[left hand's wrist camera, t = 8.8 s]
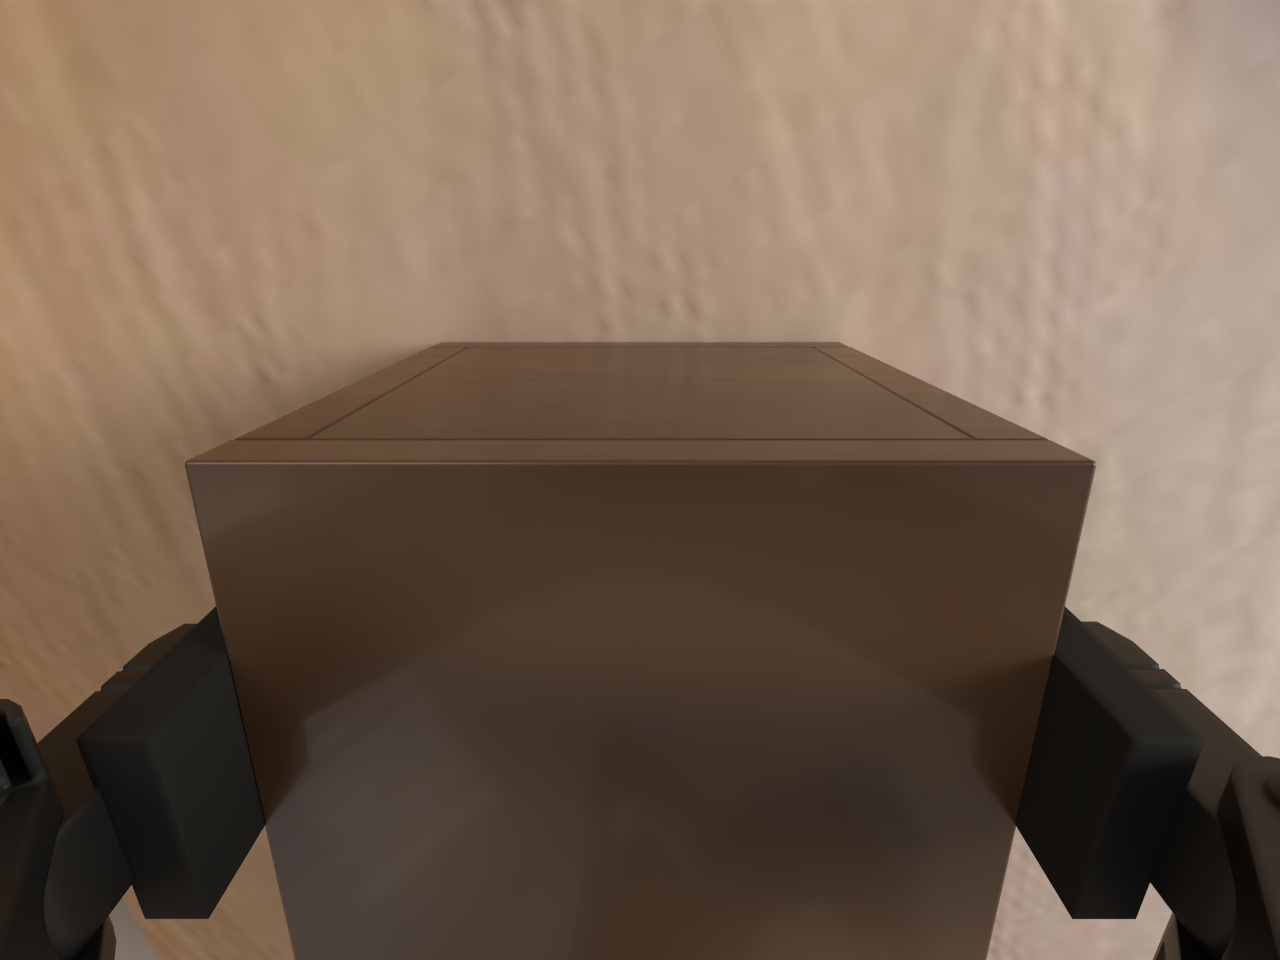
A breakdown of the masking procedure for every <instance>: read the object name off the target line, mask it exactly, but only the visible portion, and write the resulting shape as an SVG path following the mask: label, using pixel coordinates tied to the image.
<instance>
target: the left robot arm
mask: <svg viewBox="0 0 1280 960" xmlns="http://www.w3.org/2000/svg"><path fill="white" fill-rule="evenodd" d="M264 826H265V822H264V818H263V813H262V809H261V804H260V800H259V795H258V791H257V786H256V782H255V777H254V773H253V768H252V764H251V759H250V755H249V750H248V746H247V741H246V737H245V732H244V728H243V723H242V719H241V714H240V710H239V705H238V701H237V696H236V692H235V687H234V683H233V678H232V674H231V669H230V665H229V660H228V656H227V651H226V647H225V642H224V638H223V633H222V629H221V624H220V620H219V615H218V611H217V606H216V607H215V608H214V609H213V610H212V611H211V612H209V613H208V614H207V615H206V616H205V617H204V618H203V619H202V620H201V621H200V622H199V623H198V624H183V625H182V626H180V627H178V628H176V629H174V630H173V631H171V632H169V633H167V634H165V635H164V636H162V637H160V638H158V639H156V640H155V641H153V642H151V643H149V644H148V645H147V646H146V647H145V648H144V649H142V650H141V651H140V652H139V653H138V654H137V655H136V656H135V657H134V658H132V659H131V660H130V661H129V662H128V663H127V664H126V665H125V666H123V671H122V672H117V673H116V674H115V675H113V676H112V677H111V678H110V679H109V680H108V681H107V682H106V683H104V684H103V685H102V686H101V691H96V692H94V693H93V694H92V695H91V696H90V697H89V698H88V699H87V700H85V701H84V702H83V703H82V704H81V705H80V706H79V707H78V708H77V709H75V710H74V711H73V712H72V713H71V714H70V715H69V716H68V717H66V718H65V719H64V720H63V721H62V722H61V723H60V724H59V725H58V726H56V727H55V728H54V729H53V730H52V731H51V732H50V733H49V734H47V735H46V736H45V737H44V738H43V739H42V740H41V741H40V742H38V743H36V740H35V738H34V735H33V733H32V731H31V728H30V726H29V723H28V721H27V719H26V716H25V714H24V711H23V709H22V707H21V706H20V705H18V704H16V703H14V702H12V701H11V700H9V699H0V960H114V958H115V948H116V937H115V933H114V927H113V924H112V922H111V920H110V917H109V914H110V913H111V911H112V910H113V909H114V907H115V906H116V905H117V903H118V902H119V901H120V899H121V898H122V897H123V895H124V894H125V893H126V891H127V890H128V889H129V887H130V886H131V885H132V886H133V889H134V891H135V894H136V896H137V899H138V902H139V904H140V907H141V909H142V912H143V914H144V917H145V919H209V917H210V915H211V914H212V912H213V910H214V909H215V907H216V905H217V904H218V902H219V900H220V899H221V897H222V895H223V894H224V892H225V890H226V889H227V887H228V885H229V884H230V882H231V880H232V879H233V877H234V875H235V874H236V872H237V871H238V869H239V867H240V866H241V864H242V862H243V861H244V859H245V857H246V856H247V854H248V852H249V851H250V849H251V847H252V846H253V844H254V842H255V841H256V839H257V837H258V836H259V834H260V832H261V831H262V829H263V827H264ZM1016 826H1017V828H1018V830H1019V831H1020V833H1021V835H1022V836H1023V838H1024V840H1025V841H1026V843H1027V844H1028V846H1029V848H1030V849H1031V851H1032V853H1033V854H1034V856H1035V858H1036V859H1037V861H1038V863H1039V864H1040V866H1041V868H1042V869H1043V871H1044V873H1045V874H1046V876H1047V878H1048V879H1049V881H1050V883H1051V884H1052V886H1053V888H1054V889H1055V891H1056V892H1057V894H1058V896H1059V897H1060V899H1061V901H1062V902H1063V904H1064V906H1065V907H1066V909H1067V911H1068V912H1069V914H1070V916H1071V917H1072V919H1136V917H1137V914H1138V912H1139V909H1140V907H1141V904H1142V902H1143V899H1144V896H1145V894H1146V891H1147V889H1148V886H1149V884H1150V883H1151V884H1152V885H1153V887H1154V888H1155V889H1156V890H1157V892H1158V893H1159V894H1160V896H1161V897H1162V898H1163V900H1164V901H1165V902H1166V904H1167V905H1168V906H1169V908H1170V909H1171V910H1172V915H1171V917H1170V920H1169V922H1168V924H1167V927H1166V929H1165V932H1164V934H1163V936H1162V939H1161V941H1160V944H1159V946H1158V948H1157V951H1156V953H1155V955H1154V958H1153V960H1280V759H1279V758H1274V757H1269V756H1266V757H1262V756H1261V755H1260V754H1259V753H1258V752H1257V751H1255V750H1254V749H1253V748H1252V747H1251V746H1250V745H1249V744H1248V743H1246V742H1245V741H1244V740H1243V739H1242V738H1241V737H1240V736H1239V735H1237V734H1236V733H1235V732H1234V731H1233V730H1232V729H1231V728H1230V727H1228V726H1227V725H1226V724H1225V723H1224V722H1223V721H1222V720H1221V719H1219V718H1218V717H1217V716H1216V715H1215V714H1214V713H1213V712H1212V711H1210V710H1209V709H1208V708H1207V707H1206V706H1205V705H1204V704H1203V703H1201V702H1200V701H1199V700H1198V699H1197V698H1196V697H1195V696H1194V695H1192V694H1191V693H1190V692H1189V691H1188V690H1187V689H1181V684H1180V683H1179V682H1178V681H1177V680H1176V679H1174V678H1173V677H1172V676H1171V675H1170V674H1169V673H1168V672H1167V671H1165V670H1164V669H1159V664H1157V663H1156V662H1155V661H1154V660H1153V659H1152V658H1151V657H1150V656H1148V655H1147V654H1146V653H1145V652H1144V651H1143V650H1142V649H1141V648H1139V647H1138V646H1137V645H1136V644H1135V643H1134V642H1133V641H1131V640H1129V639H1127V638H1126V637H1124V636H1122V635H1120V634H1118V633H1117V632H1115V631H1113V630H1111V629H1109V628H1108V627H1106V626H1104V625H1102V624H1100V623H1099V622H1081V621H1080V620H1079V619H1078V618H1077V617H1076V616H1074V615H1073V614H1072V613H1071V612H1070V611H1069V610H1068V609H1067V608H1066V607H1064V612H1063V616H1062V621H1061V625H1060V630H1059V634H1058V639H1057V643H1056V648H1055V652H1054V657H1053V661H1052V666H1051V670H1050V675H1049V679H1048V684H1047V688H1046V693H1045V697H1044V702H1043V706H1042V711H1041V715H1040V720H1039V724H1038V729H1037V733H1036V738H1035V742H1034V747H1033V751H1032V756H1031V760H1030V765H1029V769H1028V774H1027V778H1026V783H1025V787H1024V792H1023V796H1022V801H1021V805H1020V810H1019V814H1018V819H1017V823H1016Z"/></svg>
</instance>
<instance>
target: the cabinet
mask: <svg viewBox="0 0 1280 960" xmlns="http://www.w3.org/2000/svg"><path fill="white" fill-rule="evenodd" d="M185 467H186V472H187V476H188V481H189V485H190V490H191V494H192V499H193V503H194V508H195V512H196V517H197V521H198V526H199V530H200V535H201V539H202V544H203V548H204V553H205V557H206V562H207V566H208V571H209V575H210V580H211V584H212V589H213V593H214V597H215V602H216V606H217V611H218V615H219V620H220V624H221V629H222V633H223V638H224V642H225V647H226V651H227V656H228V660H229V665H230V669H231V674H232V678H233V683H234V687H235V692H236V696H237V701H238V705H239V710H240V714H241V719H242V723H243V728H244V732H245V737H246V741H247V746H248V750H249V755H250V759H251V764H252V768H253V773H254V777H255V782H256V786H257V791H258V795H259V800H260V804H261V809H262V813H263V818H264V822H265V827H266V831H267V836H268V840H269V845H270V849H271V854H272V858H273V863H274V867H275V872H276V876H277V881H278V885H279V890H280V894H281V899H282V903H283V908H284V912H285V917H286V921H287V926H288V930H289V935H290V939H291V944H292V948H293V953H294V957H295V960H986V958H987V954H988V949H989V945H990V940H991V936H992V931H993V927H994V922H995V918H996V913H997V909H998V904H999V900H1000V895H1001V891H1002V886H1003V882H1004V877H1005V873H1006V868H1007V864H1008V859H1009V855H1010V850H1011V846H1012V841H1013V837H1014V832H1015V828H1016V823H1017V819H1018V814H1019V810H1020V805H1021V801H1022V796H1023V792H1024V787H1025V783H1026V778H1027V774H1028V769H1029V765H1030V760H1031V756H1032V751H1033V747H1034V742H1035V738H1036V733H1037V729H1038V724H1039V720H1040V715H1041V711H1042V706H1043V702H1044V697H1045V693H1046V688H1047V684H1048V679H1049V675H1050V670H1051V666H1052V661H1053V657H1054V652H1055V648H1056V643H1057V639H1058V634H1059V630H1060V625H1061V621H1062V616H1063V612H1064V607H1065V603H1066V598H1067V594H1068V589H1069V585H1070V580H1071V576H1072V571H1073V567H1074V562H1075V558H1076V553H1077V549H1078V544H1079V540H1080V535H1081V531H1082V526H1083V522H1084V517H1085V513H1086V508H1087V504H1088V499H1089V495H1090V490H1091V486H1092V481H1093V477H1094V472H1095V468H1096V462H1095V461H1093V460H1091V459H1089V458H1087V457H1085V456H1082V455H1080V454H1078V453H1076V452H1074V451H1072V450H1070V449H1067V448H1065V447H1063V446H1061V445H1059V444H1057V443H1055V442H1052V441H1050V440H1048V439H1046V438H1044V437H1042V436H1040V435H1038V434H1036V433H1033V432H1031V431H1029V430H1027V429H1025V428H1023V427H1021V426H1018V425H1016V424H1014V423H1012V422H1010V421H1008V420H1006V419H1003V418H1001V417H999V416H997V415H995V414H993V413H991V412H988V411H986V410H984V409H982V408H980V407H978V406H976V405H973V404H971V403H969V402H967V401H965V400H963V399H961V398H958V397H956V396H954V395H952V394H950V393H948V392H946V391H943V390H941V389H939V388H937V387H935V386H933V385H931V384H928V383H926V382H924V381H922V380H920V379H918V378H916V377H913V376H911V375H909V374H907V373H905V372H903V371H901V370H898V369H896V368H894V367H892V366H890V365H888V364H886V363H883V362H881V361H879V360H877V359H875V358H873V357H871V356H868V355H866V354H864V353H862V352H860V351H858V350H856V349H853V348H851V347H848V346H846V345H844V344H841V343H440V344H438V345H435V346H433V347H431V348H428V349H426V350H424V351H422V352H420V353H418V354H416V355H413V356H411V357H409V358H407V359H405V360H403V361H401V362H399V363H396V364H394V365H392V366H390V367H388V368H386V369H384V370H381V371H379V372H377V373H375V374H373V375H371V376H369V377H367V378H364V379H362V380H360V381H358V382H356V383H354V384H352V385H349V386H347V387H345V388H343V389H341V390H339V391H337V392H335V393H332V394H330V395H328V396H326V397H324V398H322V399H320V400H318V401H315V402H313V403H311V404H309V405H307V406H305V407H303V408H300V409H298V410H296V411H294V412H292V413H290V414H288V415H286V416H283V417H281V418H279V419H277V420H275V421H273V422H271V423H268V424H266V425H264V426H262V427H260V428H258V429H256V430H254V431H251V432H249V433H247V434H245V435H243V436H241V437H239V438H236V439H235V440H231V441H229V442H227V443H225V444H222V445H220V446H218V447H216V448H214V449H212V450H210V451H207V452H205V453H203V454H201V455H199V456H197V457H195V458H192V459H190V460H188V461H186V463H185Z"/></svg>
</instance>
